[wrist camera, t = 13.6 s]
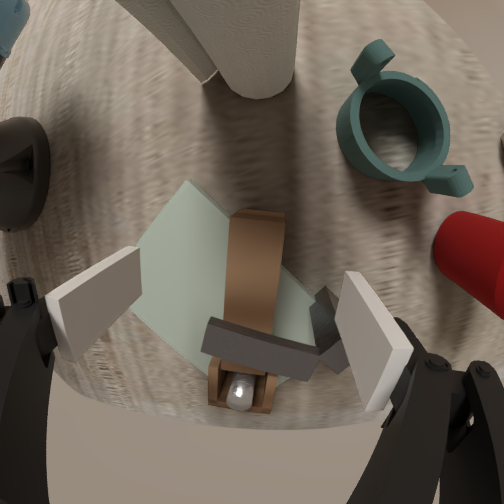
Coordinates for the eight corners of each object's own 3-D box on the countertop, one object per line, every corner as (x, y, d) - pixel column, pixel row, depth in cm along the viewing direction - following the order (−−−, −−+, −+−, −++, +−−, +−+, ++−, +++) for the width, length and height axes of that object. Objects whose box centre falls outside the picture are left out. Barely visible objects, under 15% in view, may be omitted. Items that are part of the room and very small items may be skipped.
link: (228, 207, 22) (213, 215, 17) (298, 214, 22) (302, 225, 17) (219, 371, 27) (208, 404, 22) (272, 379, 26) (269, 414, 21)
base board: (113, 282, 27) (107, 286, 25) (191, 179, 23) (186, 179, 22) (249, 397, 29) (248, 404, 28) (346, 327, 25) (349, 333, 24)
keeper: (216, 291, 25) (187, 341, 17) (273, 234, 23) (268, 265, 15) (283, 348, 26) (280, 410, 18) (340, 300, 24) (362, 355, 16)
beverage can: (466, 279, 22) (535, 332, 11) (421, 269, 23) (494, 329, 11) (483, 218, 20) (564, 248, 9) (439, 201, 21) (528, 225, 9)
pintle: (234, 354, 26) (221, 401, 19) (248, 343, 25) (237, 390, 19) (249, 365, 26) (239, 413, 20) (263, 355, 25) (256, 404, 19)
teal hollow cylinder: (414, 194, 21) (473, 205, 13) (320, 161, 21) (345, 150, 13) (430, 106, 19) (486, 84, 10) (341, 69, 19) (369, 20, 10)
